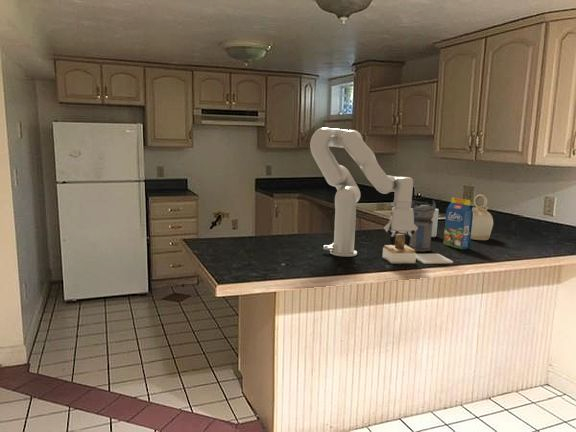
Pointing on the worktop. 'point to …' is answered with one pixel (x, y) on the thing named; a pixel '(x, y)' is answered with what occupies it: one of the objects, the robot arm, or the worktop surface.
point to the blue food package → (458, 224)
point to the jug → (481, 220)
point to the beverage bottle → (422, 226)
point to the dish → (399, 257)
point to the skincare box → (434, 226)
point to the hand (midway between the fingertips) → (399, 244)
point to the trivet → (432, 258)
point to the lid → (399, 245)
